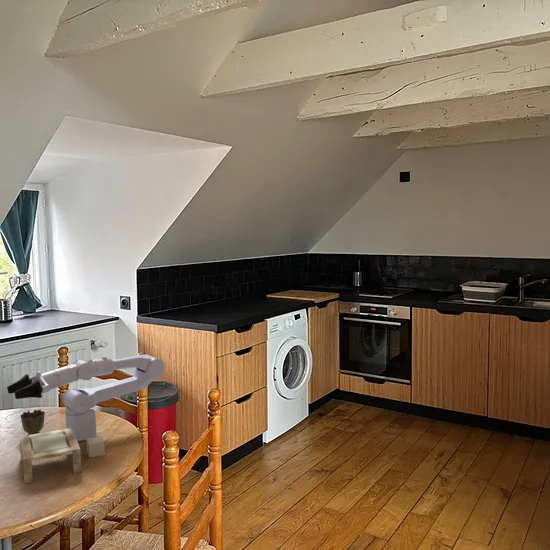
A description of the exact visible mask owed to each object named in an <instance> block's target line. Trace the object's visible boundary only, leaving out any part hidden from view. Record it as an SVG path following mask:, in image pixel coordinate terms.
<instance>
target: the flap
mask: <svg viewBox="0 0 550 550" xmlns="http://www.w3.org/2000/svg"><path fill="white" fill-rule="evenodd" d="M30 444H31V448H32V453H33V454H36V453H41V452H47V451H52V450H58V449H63V448H68V446H67V443H66V440H65V437H64V435H63V433H59V434H53V435H47V436H41V437H35V438H31V441H30ZM68 455H70V454H68ZM68 455H67V456H68Z"/></svg>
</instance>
